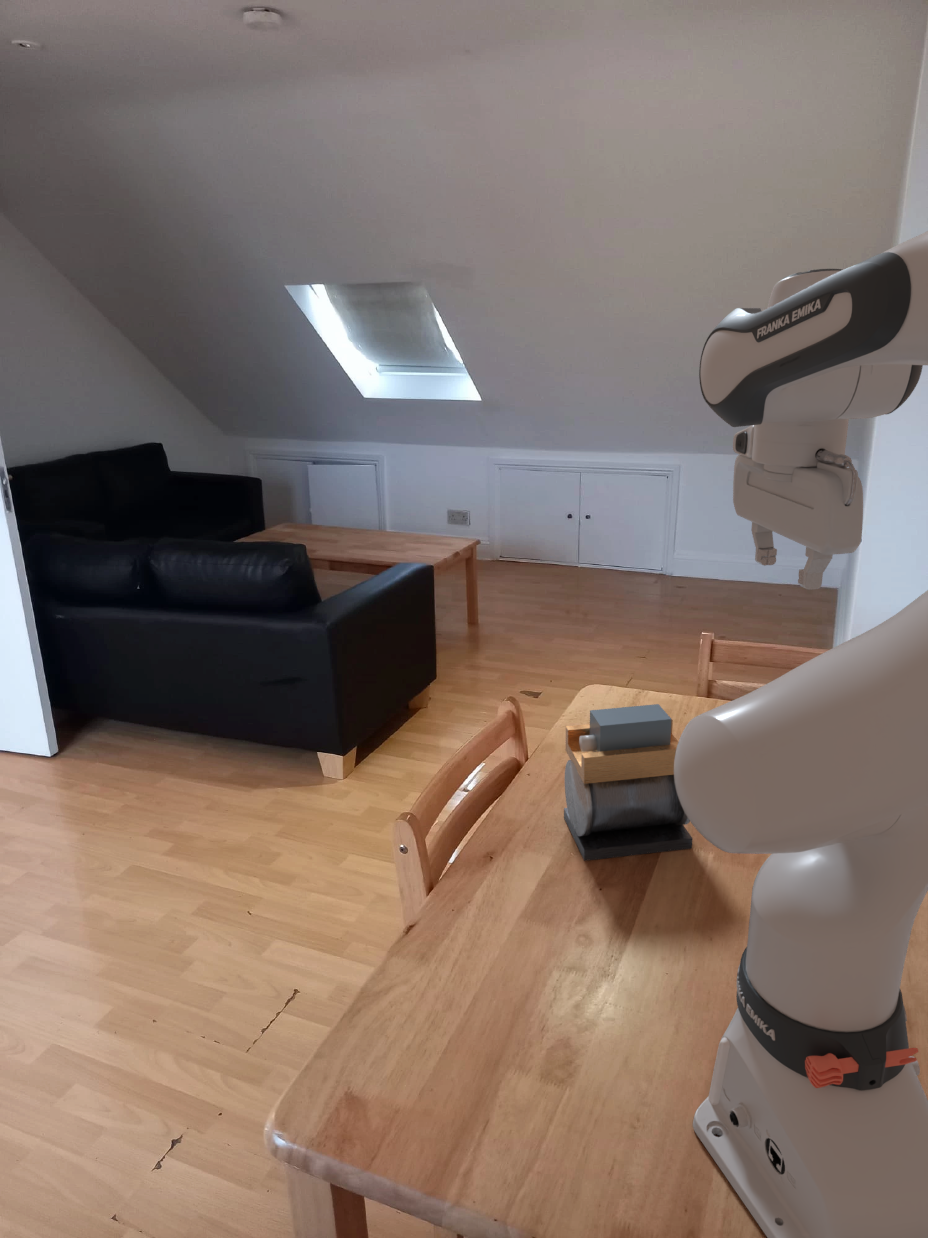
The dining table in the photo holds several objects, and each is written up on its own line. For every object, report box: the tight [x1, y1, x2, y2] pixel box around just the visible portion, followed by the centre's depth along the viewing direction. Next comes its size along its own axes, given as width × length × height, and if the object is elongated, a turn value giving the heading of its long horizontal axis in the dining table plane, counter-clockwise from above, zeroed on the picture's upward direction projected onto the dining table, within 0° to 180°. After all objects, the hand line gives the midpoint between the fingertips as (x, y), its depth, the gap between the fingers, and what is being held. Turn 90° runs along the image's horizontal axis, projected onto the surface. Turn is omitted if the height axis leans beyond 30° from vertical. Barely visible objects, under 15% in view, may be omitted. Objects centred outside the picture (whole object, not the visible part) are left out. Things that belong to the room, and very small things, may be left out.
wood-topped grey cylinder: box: [563, 715, 693, 862], centre depth 109 cm, size 10×14×14 cm
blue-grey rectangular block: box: [579, 703, 673, 752], centre depth 107 cm, size 4×11×5 cm, turn 98°
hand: (786, 575), depth 91 cm, fingers open, 8 cm apart
